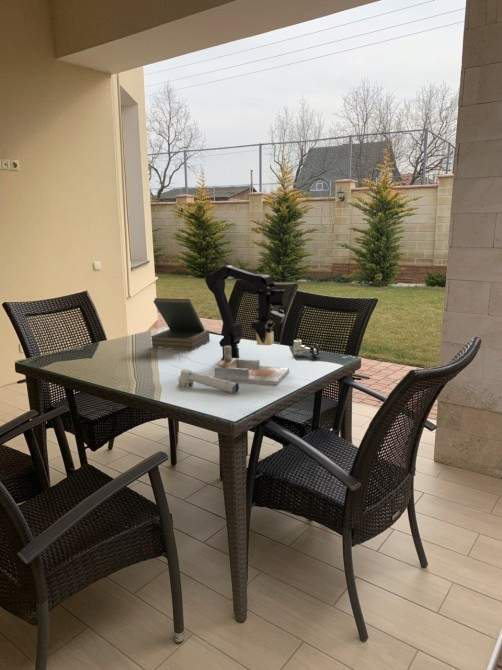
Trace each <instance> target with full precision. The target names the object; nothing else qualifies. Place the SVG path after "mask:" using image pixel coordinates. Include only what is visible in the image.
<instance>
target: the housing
mask: <svg viewBox="0 0 502 670" xmlns="http://www.w3.org/2000/svg"><path fill="white" fill-rule="evenodd" d="M274 337H275V336H274V331H273V330H271V331H266V336H265V342H264V343H262V342H261V340H260V338H259V336H258V334H257V333H256V345H257V346H258V345H259V346H260V345H261V346H272V345H273V344H274V342H275V340H274V339H275V338H274Z"/></svg>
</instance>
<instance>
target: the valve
mask: <svg viewBox="0 0 502 670" xmlns="http://www.w3.org/2000/svg"><path fill="white" fill-rule="evenodd" d="M319 346H320V345H319V344H318V343H315V342H314V343H313V344H312V345H311V346H310V347H308V346H306V345H302V340H301V339H295V340H293V347H292V348H293V355H294V356H301V355H302V354H303V353H306V352H309V353H310V354H311V355H310V357H312V358H314V359H317V356H319V355H320V353H319V351H321V348H320V347H319Z"/></svg>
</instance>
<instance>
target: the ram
mask: <svg viewBox="0 0 502 670" xmlns="http://www.w3.org/2000/svg"><path fill="white" fill-rule="evenodd" d="M237 359H238V358H232V355H231V346H224V360H222V361H221V362H220V363H218V367H232V368H236V367H237Z"/></svg>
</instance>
